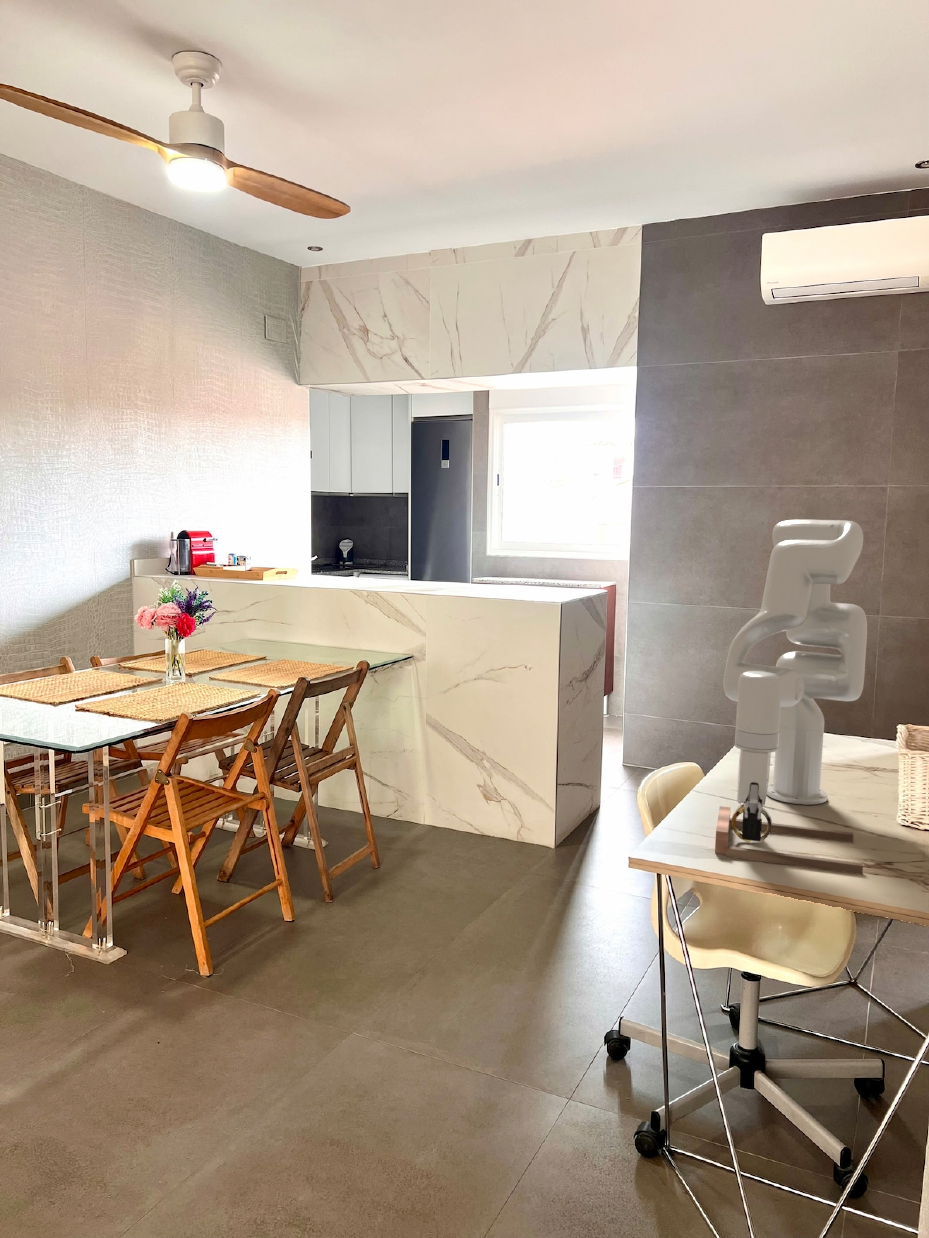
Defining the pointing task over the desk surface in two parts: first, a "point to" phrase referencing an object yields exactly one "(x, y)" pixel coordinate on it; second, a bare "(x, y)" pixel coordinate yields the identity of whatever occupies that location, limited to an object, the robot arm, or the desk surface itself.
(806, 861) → the channel
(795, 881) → the desk surface
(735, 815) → the ring
